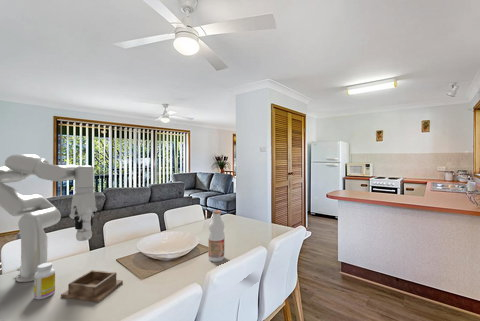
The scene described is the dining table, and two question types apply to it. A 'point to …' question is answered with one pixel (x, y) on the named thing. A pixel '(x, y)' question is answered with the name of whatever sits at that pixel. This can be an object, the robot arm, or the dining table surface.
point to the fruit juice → (216, 238)
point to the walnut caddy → (92, 286)
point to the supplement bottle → (44, 281)
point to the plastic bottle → (85, 226)
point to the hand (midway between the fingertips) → (84, 227)
